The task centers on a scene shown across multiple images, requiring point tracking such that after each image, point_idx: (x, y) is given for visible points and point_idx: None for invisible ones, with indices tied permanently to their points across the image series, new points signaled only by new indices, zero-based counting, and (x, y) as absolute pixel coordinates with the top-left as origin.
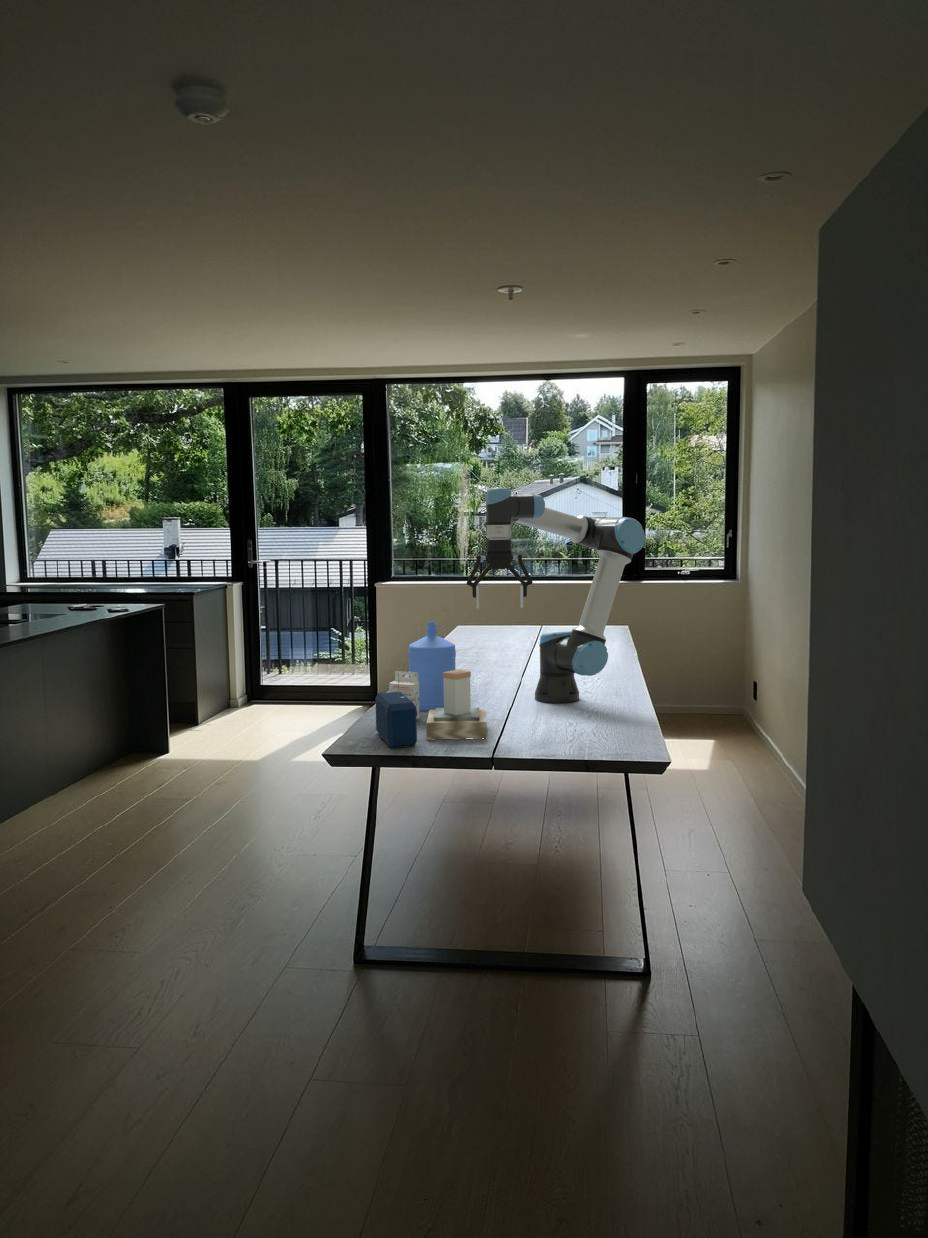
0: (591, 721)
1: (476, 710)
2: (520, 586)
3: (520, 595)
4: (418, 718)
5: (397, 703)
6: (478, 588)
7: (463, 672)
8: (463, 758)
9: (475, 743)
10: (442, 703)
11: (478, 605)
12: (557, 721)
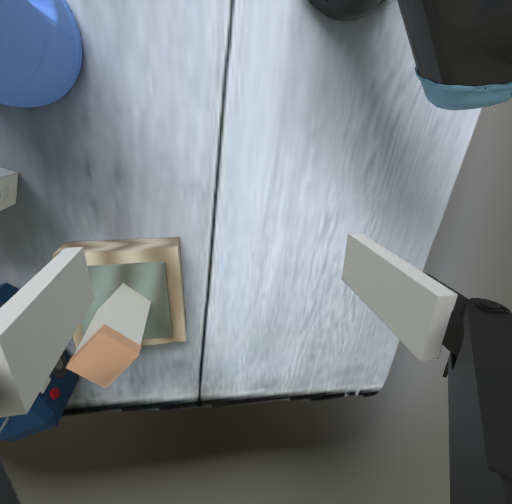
0: (363, 204)
1: (161, 289)
2: (431, 323)
3: (384, 283)
4: (17, 177)
5: (13, 433)
6: (29, 405)
7: (122, 366)
8: (162, 406)
9: (170, 343)
10: (49, 99)
11: (84, 310)
12: (308, 204)
